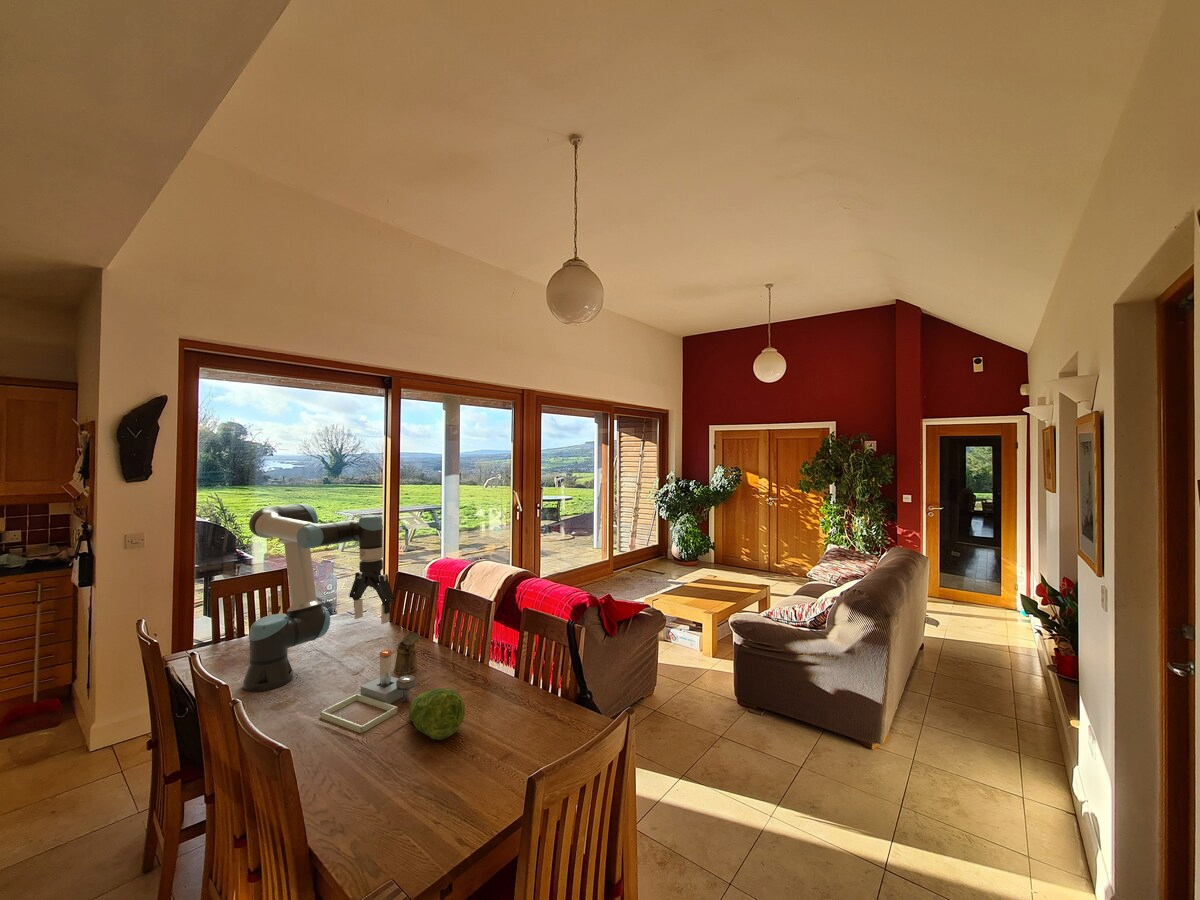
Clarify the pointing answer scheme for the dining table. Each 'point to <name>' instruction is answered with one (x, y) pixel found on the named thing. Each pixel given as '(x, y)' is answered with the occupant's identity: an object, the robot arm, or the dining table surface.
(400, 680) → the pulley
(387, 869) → the dining table surface
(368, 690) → the block
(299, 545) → the robot arm
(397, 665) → the wooden mug
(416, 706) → the lettuce
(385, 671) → the pin
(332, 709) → the tray
